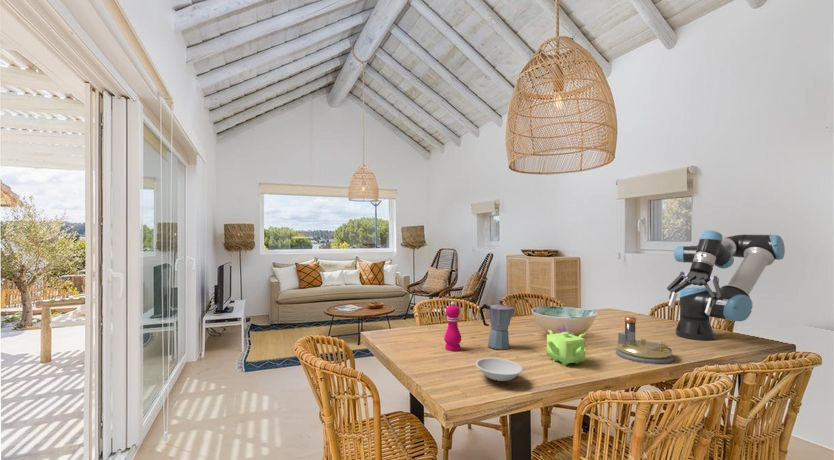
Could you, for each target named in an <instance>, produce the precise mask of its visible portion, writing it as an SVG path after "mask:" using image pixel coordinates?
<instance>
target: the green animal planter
mask: <svg viewBox="0 0 834 460" xmlns="http://www.w3.org/2000/svg"><path fill="white" fill-rule="evenodd" d="M547 332H548V333H549V334H546V357H550V358H552V359H551V361H552V360H554V361H553V362H558V361H559V362H560V363H561V365H562V364H563V365H568V366H569V364H572V363H573V364H574V363H575V364H574V365H580V364H579V363H581V362H586V351H587V349H586V338H584V336H585V335H586V333H581V334H579V335H578V336H577V335H574V334H573V335H571V334H569V333H568V332H562V333H559V332H558V333H554V331H552V330H550V329H547ZM563 365H562V366H563Z"/></svg>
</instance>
